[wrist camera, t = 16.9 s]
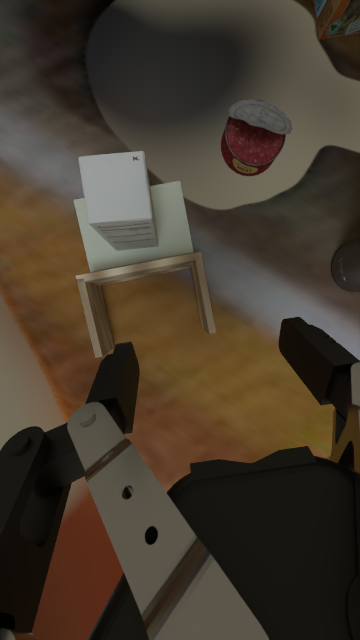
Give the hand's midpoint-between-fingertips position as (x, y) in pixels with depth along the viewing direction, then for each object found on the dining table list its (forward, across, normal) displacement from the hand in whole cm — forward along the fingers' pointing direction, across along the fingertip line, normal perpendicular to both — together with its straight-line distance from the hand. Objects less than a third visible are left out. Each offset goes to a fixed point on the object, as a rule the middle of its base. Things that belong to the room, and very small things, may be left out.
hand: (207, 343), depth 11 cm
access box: (+24, +6, +9) cm, 27 cm away
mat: (+30, +6, -3) cm, 31 cm away
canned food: (+37, -15, -13) cm, 41 cm away
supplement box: (+30, +7, -3) cm, 31 cm away
